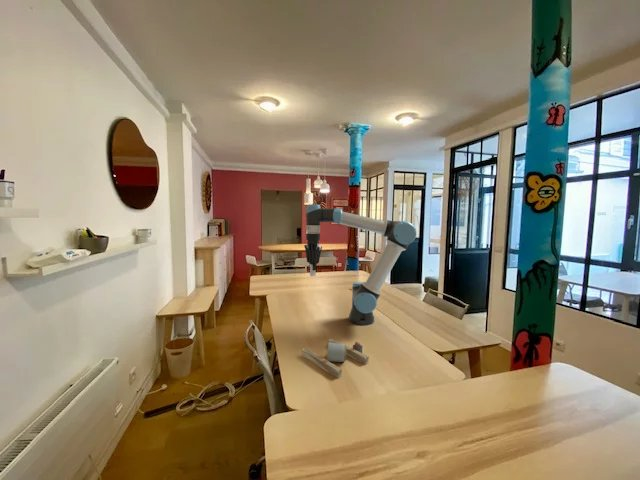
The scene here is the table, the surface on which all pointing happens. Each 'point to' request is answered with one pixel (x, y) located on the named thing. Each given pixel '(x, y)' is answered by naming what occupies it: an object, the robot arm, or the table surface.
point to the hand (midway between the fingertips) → (312, 275)
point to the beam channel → (331, 368)
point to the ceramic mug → (336, 352)
